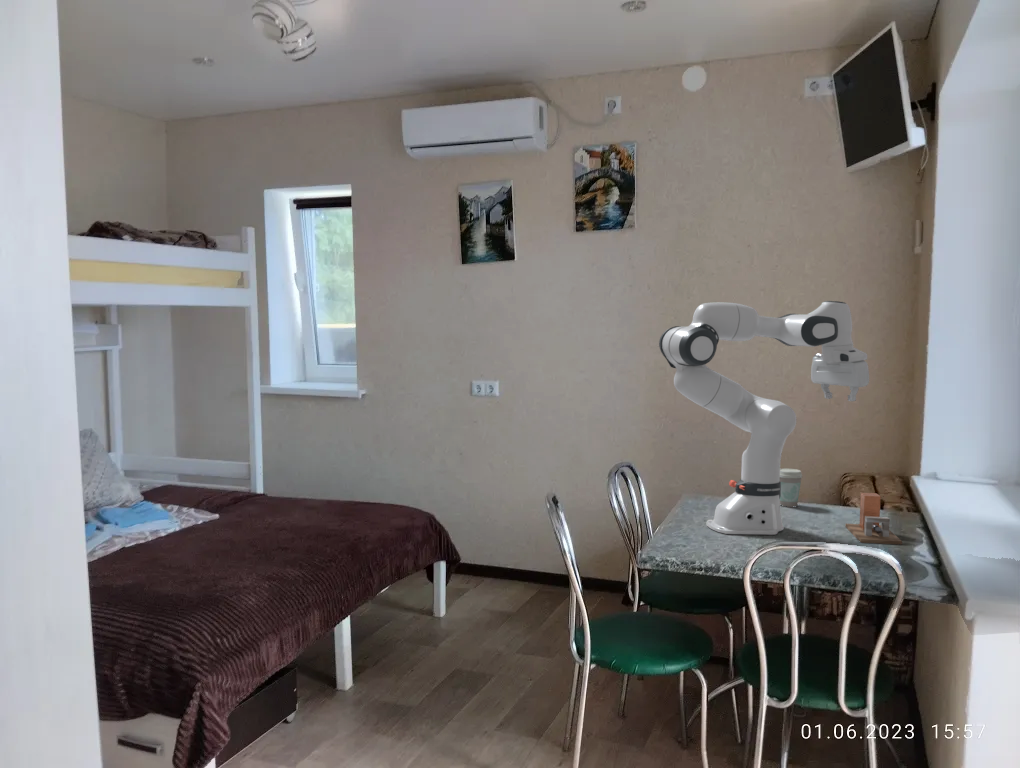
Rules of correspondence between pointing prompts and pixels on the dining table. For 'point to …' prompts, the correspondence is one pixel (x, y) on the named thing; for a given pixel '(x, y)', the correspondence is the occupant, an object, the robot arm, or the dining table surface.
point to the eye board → (871, 535)
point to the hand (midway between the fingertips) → (840, 399)
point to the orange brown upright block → (870, 509)
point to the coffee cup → (790, 486)
